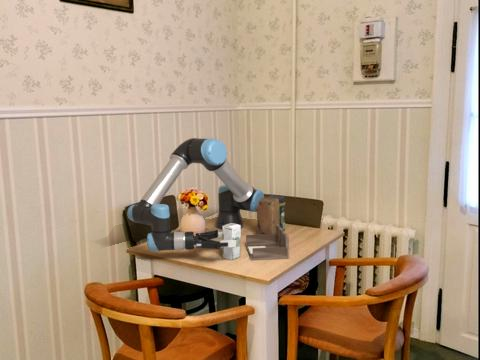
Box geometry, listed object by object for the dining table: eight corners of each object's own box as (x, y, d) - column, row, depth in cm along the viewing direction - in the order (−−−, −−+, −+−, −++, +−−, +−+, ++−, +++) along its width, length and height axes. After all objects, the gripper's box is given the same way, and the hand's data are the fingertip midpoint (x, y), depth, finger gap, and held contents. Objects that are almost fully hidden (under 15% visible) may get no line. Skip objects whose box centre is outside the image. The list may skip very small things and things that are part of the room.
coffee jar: (264, 229, 238) (264, 195, 235) (271, 226, 245) (271, 193, 242) (280, 232, 233) (280, 197, 230) (287, 229, 239) (287, 195, 236)
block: (280, 237, 224) (281, 198, 221) (272, 240, 218) (272, 200, 215) (262, 233, 230) (262, 195, 227) (254, 237, 224) (254, 198, 221)
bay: (245, 245, 211) (244, 225, 209) (278, 243, 213) (278, 224, 211) (251, 260, 189) (251, 238, 188) (288, 258, 191) (288, 237, 190)
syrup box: (230, 254, 197) (230, 222, 195) (241, 257, 194) (240, 224, 191) (222, 257, 193) (221, 225, 191) (232, 260, 189) (232, 227, 187)
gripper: (185, 240, 202) (231, 239, 205) (184, 258, 178) (237, 256, 180) (184, 224, 201) (231, 223, 203) (184, 240, 177) (237, 238, 179)
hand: (234, 238), depth 192 cm, fingers open, 13 cm apart
